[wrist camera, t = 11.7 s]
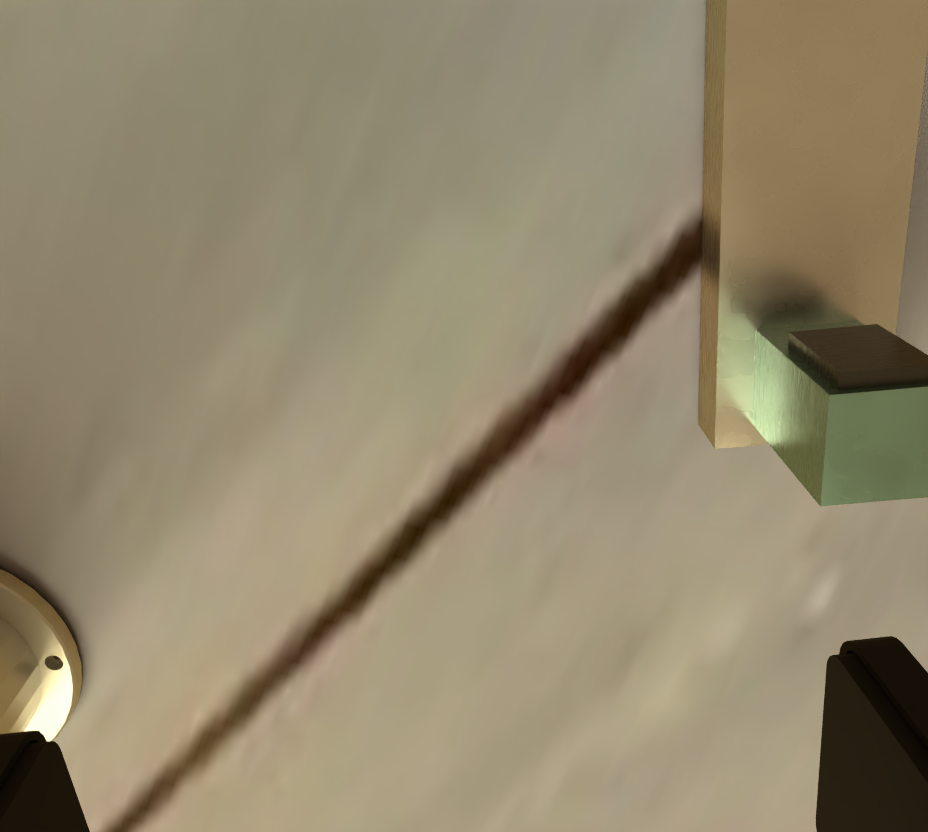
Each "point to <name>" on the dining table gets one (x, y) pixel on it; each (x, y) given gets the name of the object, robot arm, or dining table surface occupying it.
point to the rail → (813, 241)
